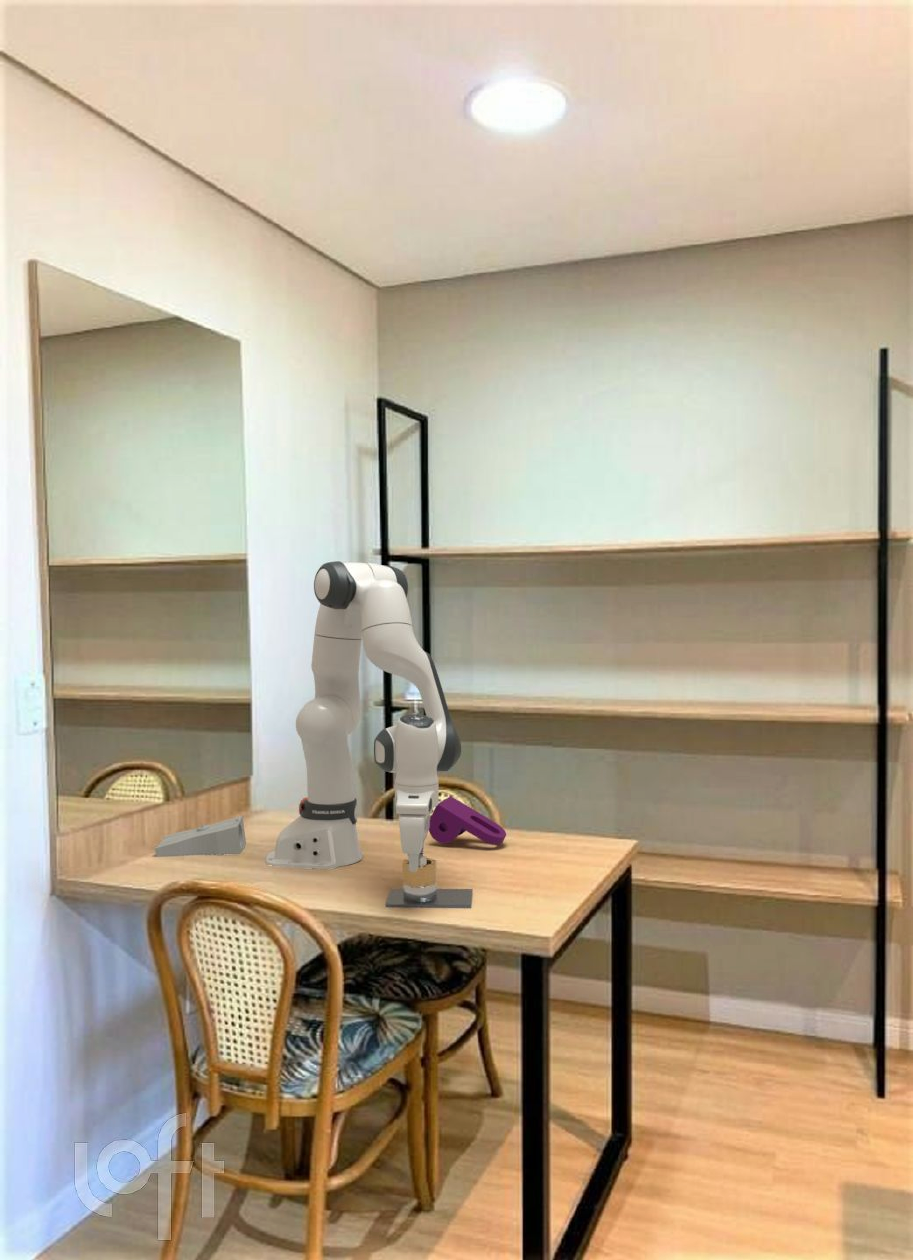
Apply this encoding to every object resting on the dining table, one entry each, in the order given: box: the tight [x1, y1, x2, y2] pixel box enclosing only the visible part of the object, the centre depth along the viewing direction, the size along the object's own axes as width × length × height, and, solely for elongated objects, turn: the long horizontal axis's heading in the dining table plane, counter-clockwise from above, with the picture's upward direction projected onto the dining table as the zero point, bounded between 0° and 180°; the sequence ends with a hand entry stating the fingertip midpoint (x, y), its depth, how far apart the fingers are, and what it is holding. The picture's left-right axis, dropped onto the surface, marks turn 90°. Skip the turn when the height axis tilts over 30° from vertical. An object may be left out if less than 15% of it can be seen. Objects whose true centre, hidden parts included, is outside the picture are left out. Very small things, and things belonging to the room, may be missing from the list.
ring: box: [402, 857, 437, 887], centre depth 198 cm, size 7×7×4 cm
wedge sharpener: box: [154, 815, 247, 858], centre depth 239 cm, size 11×20×7 cm, turn 95°
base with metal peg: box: [384, 855, 474, 909], centre depth 198 cm, size 17×10×9 cm, turn 87°
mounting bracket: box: [428, 795, 507, 846], centre depth 244 cm, size 9×8×18 cm
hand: (416, 863), depth 198 cm, fingers open, 8 cm apart
